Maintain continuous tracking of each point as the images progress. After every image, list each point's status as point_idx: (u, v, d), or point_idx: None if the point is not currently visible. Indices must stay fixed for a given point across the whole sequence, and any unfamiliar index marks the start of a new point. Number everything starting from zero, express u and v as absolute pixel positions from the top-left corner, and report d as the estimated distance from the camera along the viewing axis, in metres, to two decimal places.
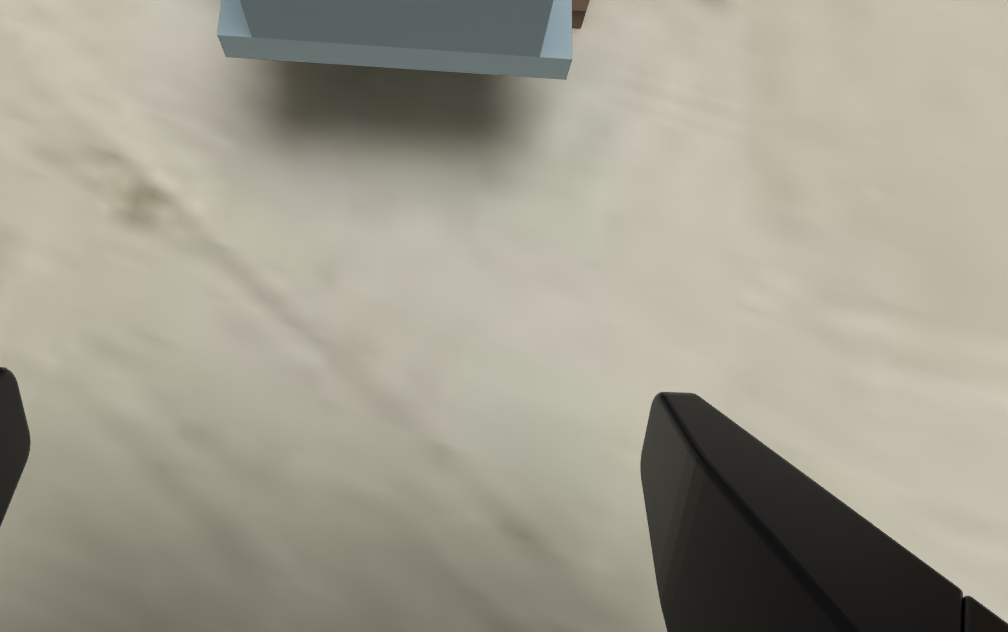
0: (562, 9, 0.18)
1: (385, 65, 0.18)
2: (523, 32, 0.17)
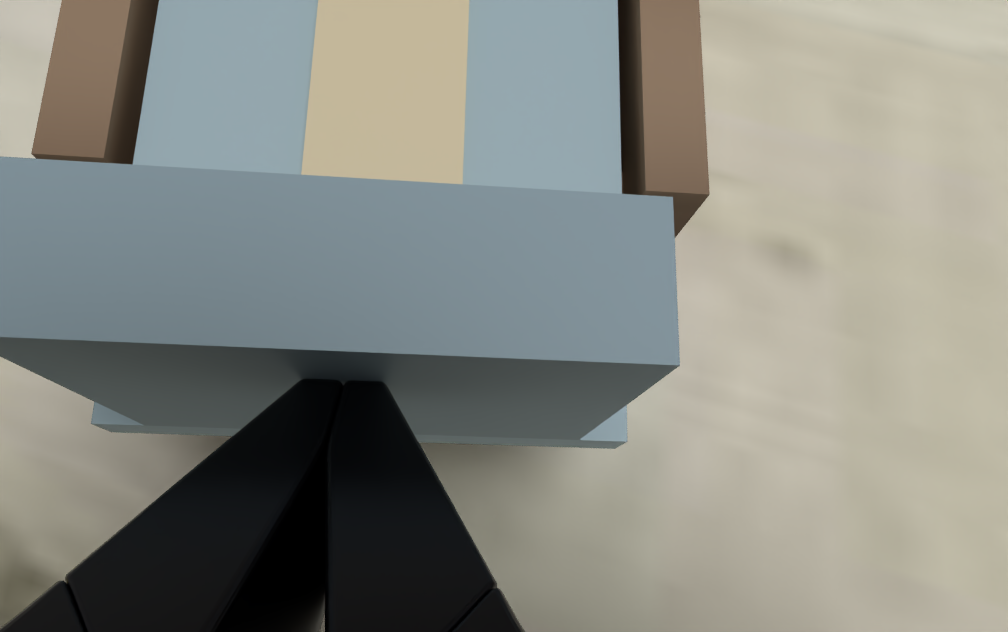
0: None
1: None
2: (556, 430, 0.11)
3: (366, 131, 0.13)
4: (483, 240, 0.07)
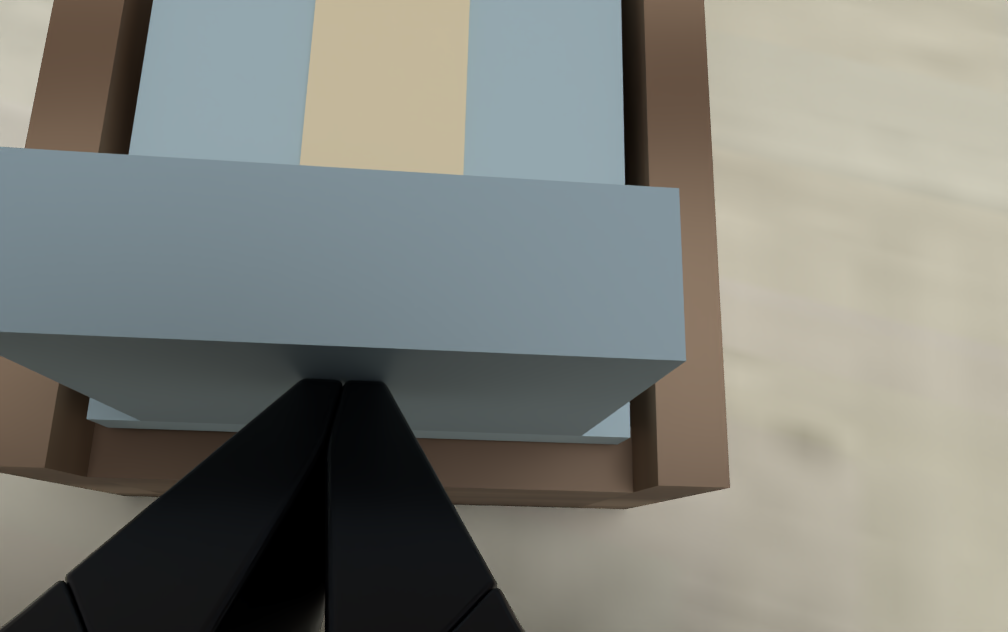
0: None
1: None
2: (558, 426, 0.11)
3: (365, 122, 0.12)
4: (485, 232, 0.07)
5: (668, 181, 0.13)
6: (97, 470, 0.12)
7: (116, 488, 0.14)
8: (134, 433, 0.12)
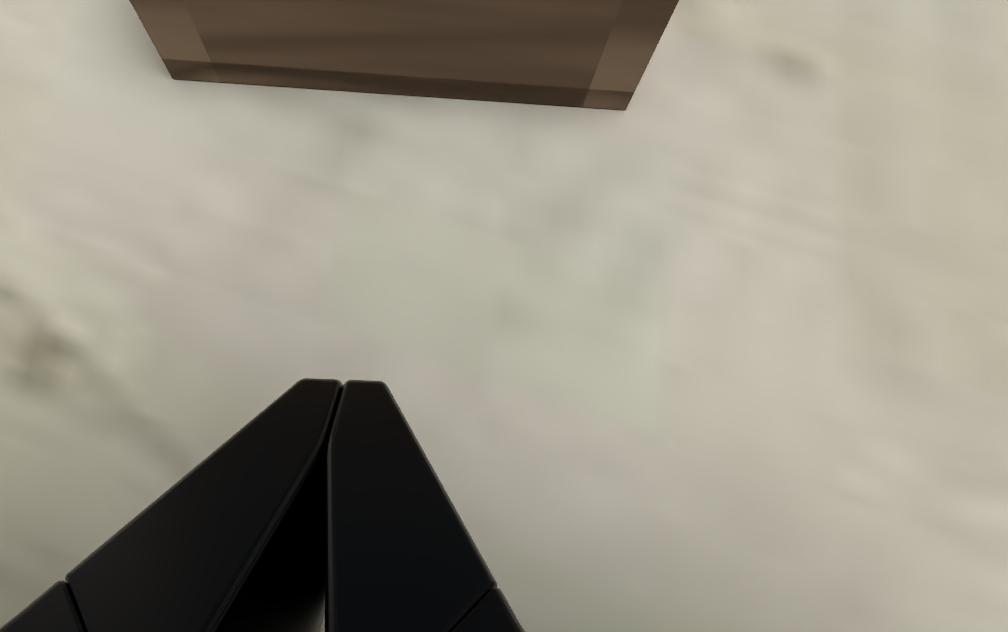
0: None
1: None
2: None
3: None
4: None
5: None
6: None
7: (171, 21, 0.16)
8: None
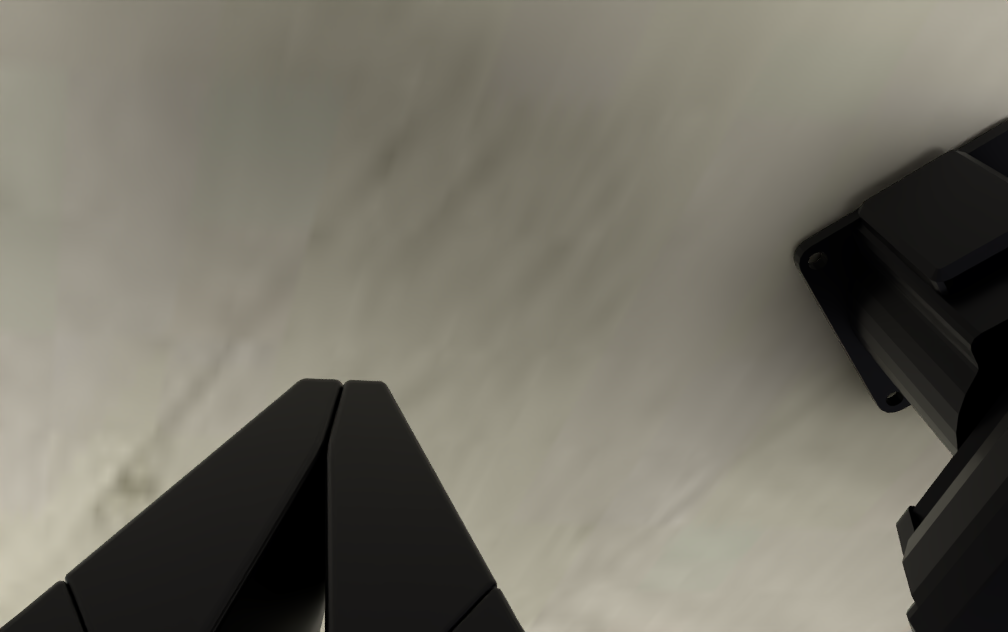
0: None
1: None
2: None
3: None
4: None
5: None
6: None
7: None
8: None
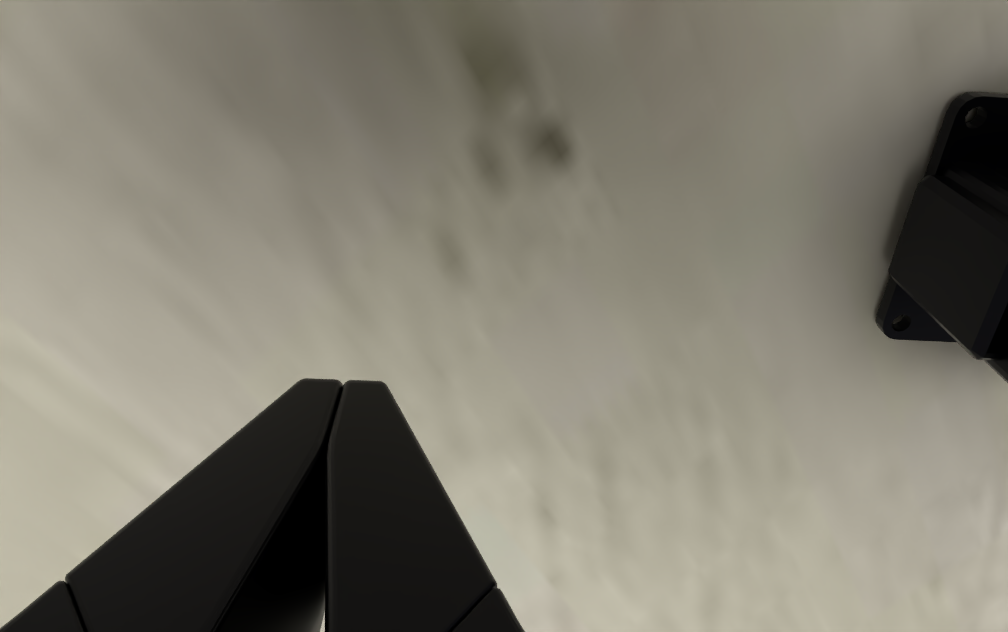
0: None
1: None
2: None
3: None
4: None
5: None
6: None
7: None
8: None
